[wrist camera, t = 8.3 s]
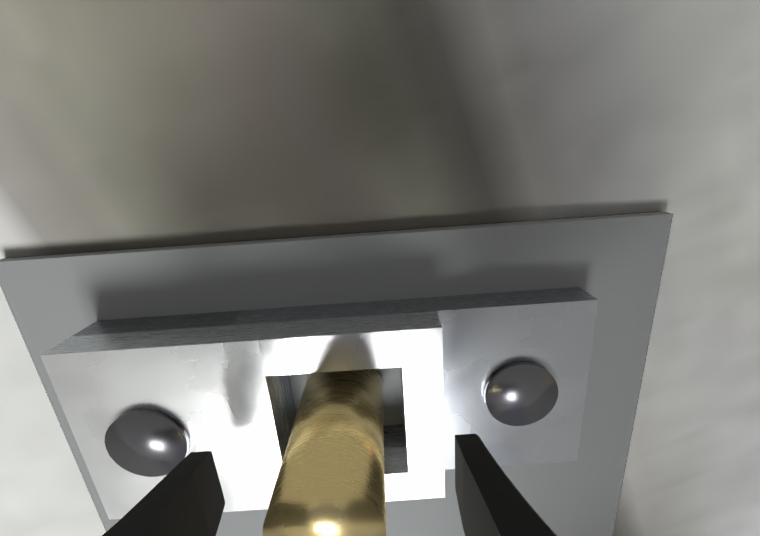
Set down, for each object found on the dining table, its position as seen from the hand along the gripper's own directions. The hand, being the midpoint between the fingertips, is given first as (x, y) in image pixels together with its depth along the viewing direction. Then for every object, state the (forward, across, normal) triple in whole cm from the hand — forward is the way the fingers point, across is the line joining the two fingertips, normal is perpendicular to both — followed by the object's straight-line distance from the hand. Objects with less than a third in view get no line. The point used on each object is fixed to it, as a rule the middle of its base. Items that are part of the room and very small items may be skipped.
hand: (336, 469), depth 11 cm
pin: (+4, 0, 0) cm, 4 cm away
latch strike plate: (+5, 0, 0) cm, 5 cm away
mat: (+4, 0, +3) cm, 5 cm away
